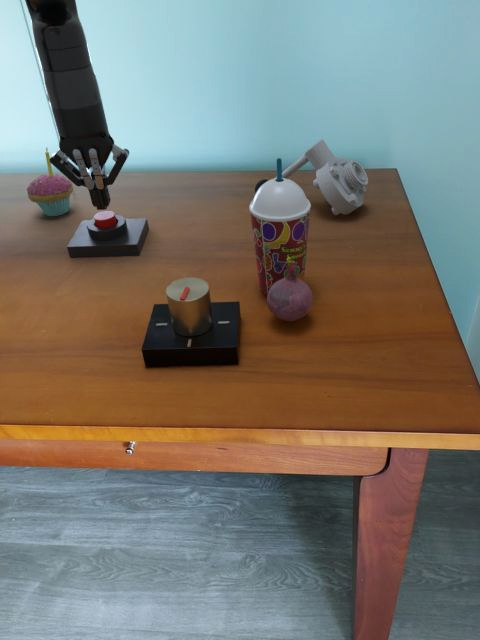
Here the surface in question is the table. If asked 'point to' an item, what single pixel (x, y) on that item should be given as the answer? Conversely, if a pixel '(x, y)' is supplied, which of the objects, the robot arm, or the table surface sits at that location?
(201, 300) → the pointer knob
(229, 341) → the dial panel
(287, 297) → the vegetable
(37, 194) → the cupcake
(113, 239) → the box
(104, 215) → the button
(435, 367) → the table surface
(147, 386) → the table surface
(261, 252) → the smoothie
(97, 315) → the table surface
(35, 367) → the table surface
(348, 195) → the valve
